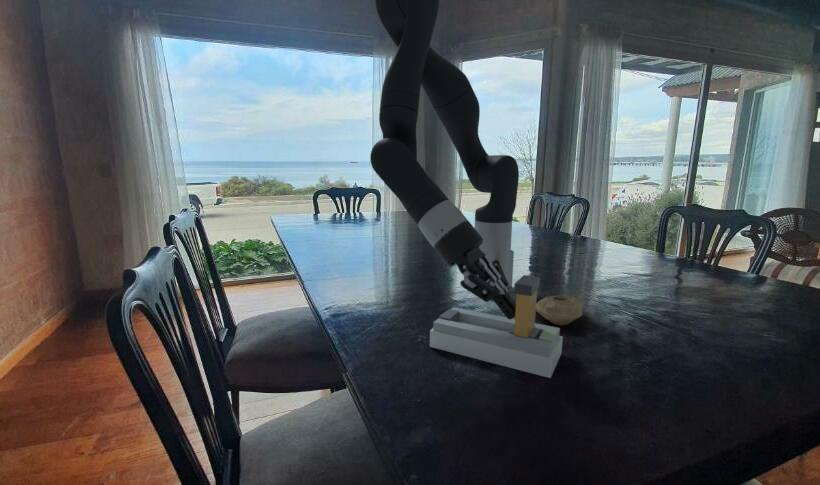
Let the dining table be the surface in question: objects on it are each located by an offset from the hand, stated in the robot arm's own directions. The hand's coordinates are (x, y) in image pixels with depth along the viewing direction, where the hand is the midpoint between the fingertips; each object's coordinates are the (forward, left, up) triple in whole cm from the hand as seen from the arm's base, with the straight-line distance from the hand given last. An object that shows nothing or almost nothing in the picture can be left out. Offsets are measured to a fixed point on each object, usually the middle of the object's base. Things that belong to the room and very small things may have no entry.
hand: (515, 315), depth 63 cm
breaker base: (+2, -3, -7) cm, 8 cm away
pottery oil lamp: (-19, -8, -7) cm, 22 cm away
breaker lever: (-1, +1, -4) cm, 4 cm away
